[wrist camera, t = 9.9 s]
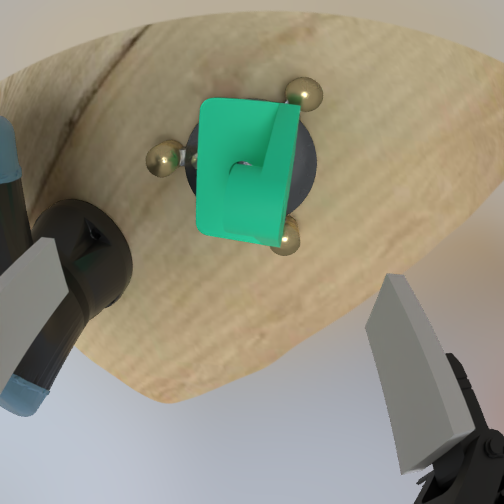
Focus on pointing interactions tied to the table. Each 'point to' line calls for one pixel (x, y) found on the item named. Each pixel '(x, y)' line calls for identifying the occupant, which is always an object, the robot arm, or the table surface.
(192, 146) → the plate
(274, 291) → the table surface
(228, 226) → the camera mount
